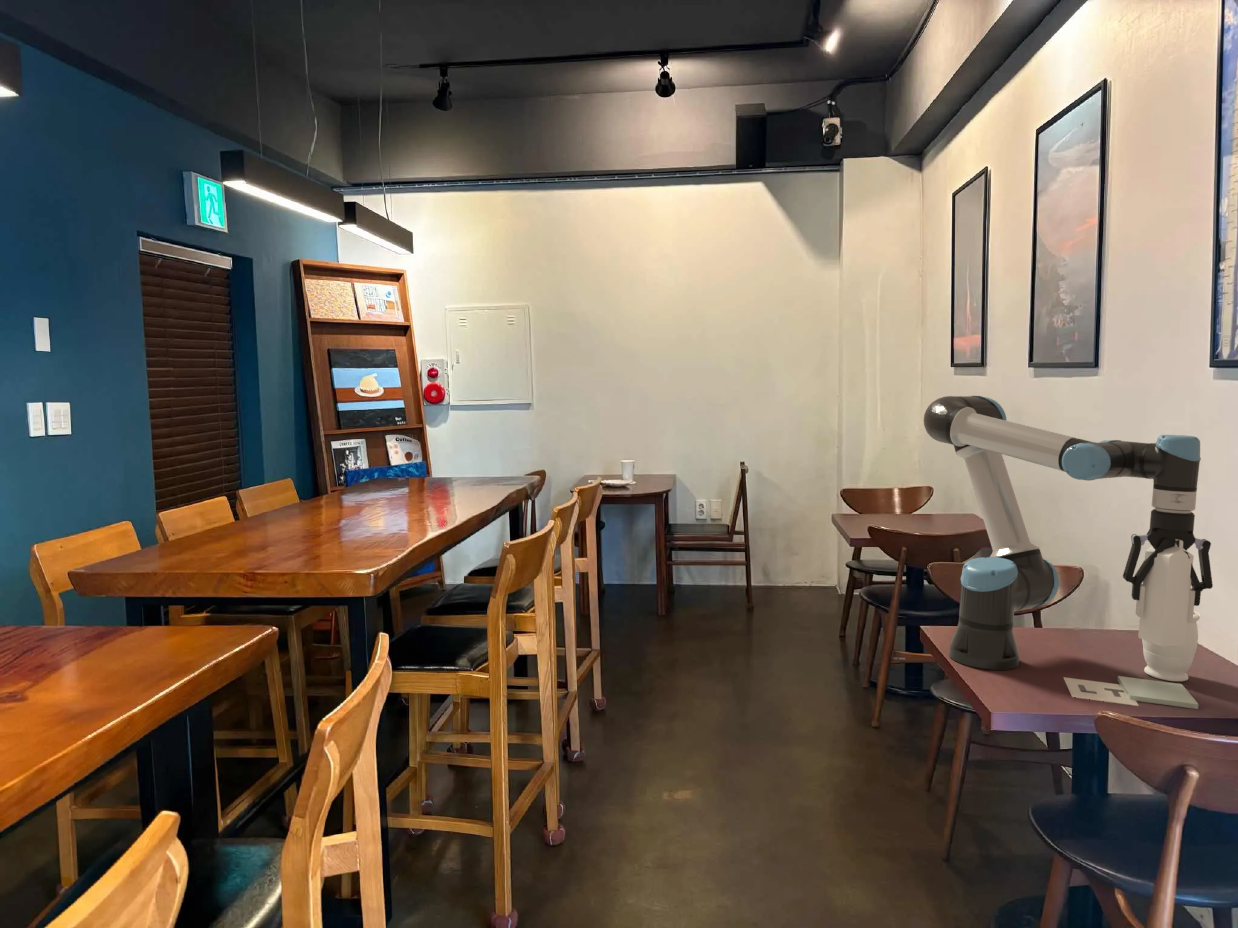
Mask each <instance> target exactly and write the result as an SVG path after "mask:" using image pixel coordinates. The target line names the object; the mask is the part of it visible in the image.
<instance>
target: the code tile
mask: <svg viewBox="0 0 1238 928" xmlns="http://www.w3.org/2000/svg"><path fill="white" fill-rule="evenodd" d="M1063 680H1064V682H1065V685H1066V687H1067V690H1068V691H1069V693H1070V696H1071V697H1072V698H1074V697H1076V698H1075V699H1083V700H1089V699H1090V701H1098V702H1103V701H1104V702H1105V703H1113V704H1119V705H1128V706H1134V707H1139V706H1140V705H1139V704H1138V701H1135V700H1130V699H1129V698H1128V696H1127V694H1126V693H1125V691H1124V690H1123V688H1122V686H1121V685H1120V684H1119V683H1110V682H1104V681H1097V680H1096V681H1095V680H1087V679H1080V678H1070V677H1063Z"/></svg>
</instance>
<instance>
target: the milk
mask: <svg viewBox="0 0 1238 928" xmlns="http://www.w3.org/2000/svg"><path fill="white" fill-rule="evenodd" d="M1175 540H1176V541H1177V540H1178V539H1175ZM1183 550H1184V551H1186V550H1185V549H1183V541H1182V540H1180V542H1179V547H1178V546H1177V544H1175V546H1174V547H1171V548H1168V549H1165V550H1164V551H1163V552H1161V553H1158V554H1157V557H1155V558H1154V565H1153V566H1152V568H1151V570H1150V571H1149V573H1148V574H1147V576H1146V577H1145V579H1144V580H1143V582H1142V584H1143V585H1144V586H1145V596H1144V608H1143V617H1139V624H1138V634H1137V635H1138V636H1137V637H1138V639H1140V640H1142V639H1143V640H1146V641H1148V642H1151V643H1154V644H1156V645H1159V646H1162V647H1163V646H1178V645H1185V644H1186V634H1187V623H1188V612H1189V601H1190V590H1191V588H1192V586H1191V578H1190V573H1191V563H1192V565H1193V566H1194V557H1195V556H1194V555H1193V554H1192V553H1191V552H1189V551H1188V550H1187V551H1186V552H1188V555H1189V557H1190V559H1189V558H1188V555H1187V554H1186V553H1185V552H1184V551H1183ZM1154 551H1155V549H1154V548H1153V547H1152V546H1150V547H1148V548H1147V549H1145V554H1144V560H1146V559H1147V558H1148V557H1149V556H1150V555H1151V554H1152V553H1153V552H1154Z"/></svg>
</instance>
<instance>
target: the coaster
mask: <svg viewBox="0 0 1238 928" xmlns="http://www.w3.org/2000/svg"><path fill="white" fill-rule="evenodd" d="M1117 682H1118V684H1119V685H1121V686H1122V688H1123V690H1124V691H1125V693H1126V694H1127V696H1128V698H1129V699H1130V700H1135V701H1136V702H1140V703H1141V702H1142V703H1150V704H1155V705H1156V704H1157V705H1167V706H1172V707H1179V708H1188V709H1195V710H1198V709H1199V703H1198V702H1197V701H1196V699H1195V698H1194V697H1193V696H1192V695H1191V693H1190V692H1189V691H1188V690H1187V688H1185V686H1184V685H1183V684H1182V683H1179V682H1177V683H1175V682H1171V681H1163V680H1162V681H1159V680H1153V679H1146V678H1145V679H1143V678H1137V677H1129V676H1120V675H1117Z"/></svg>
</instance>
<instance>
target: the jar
mask: <svg viewBox="0 0 1238 928" xmlns="http://www.w3.org/2000/svg"><path fill="white" fill-rule="evenodd" d="M1200 618H1201V613H1198V612H1197V611H1195V610H1194V611H1193V622H1188V623H1187V634H1186V644H1185V645H1178V646H1163V647H1162V646H1159V645H1156V644H1154V643H1151V642H1148V641H1146V640H1143V639H1141V640H1142V642H1141V643H1142V647H1143V648H1142V651H1143V652H1142V653H1143V658H1144V660H1145V662H1146V666H1145V667H1144V669H1143V670H1144V673H1146V674H1147V676H1150V677H1152V678H1156V679H1159V680H1162V681H1166V682H1177V683H1179V682H1185V681H1188V680H1189V675H1188V673H1187V671H1189V669H1190V668H1191V666H1192V664H1193V661H1194V658H1195V654H1196V652H1197V646H1198V643H1199V642H1198V641H1199V631H1198V624H1197V622H1198V621H1199V620H1200Z"/></svg>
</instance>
